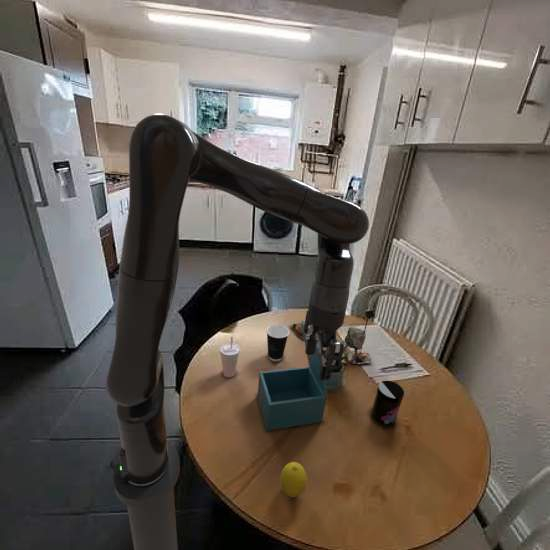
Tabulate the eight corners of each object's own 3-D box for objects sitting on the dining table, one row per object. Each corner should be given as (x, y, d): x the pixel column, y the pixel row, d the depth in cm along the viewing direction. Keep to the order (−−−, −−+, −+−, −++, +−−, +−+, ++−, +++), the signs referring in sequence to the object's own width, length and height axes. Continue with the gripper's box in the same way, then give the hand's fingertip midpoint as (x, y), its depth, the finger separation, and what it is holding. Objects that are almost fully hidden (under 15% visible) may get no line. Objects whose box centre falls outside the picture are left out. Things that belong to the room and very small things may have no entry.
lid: (317, 348, 74) (339, 341, 75) (300, 321, 86) (319, 315, 86) (325, 396, 82) (344, 389, 82) (308, 365, 93) (326, 359, 94)
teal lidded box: (266, 430, 81) (269, 405, 78) (257, 395, 92) (259, 371, 89) (321, 421, 85) (326, 397, 82) (306, 388, 96) (309, 366, 93)
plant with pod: (340, 348, 118) (349, 301, 110) (371, 355, 115) (382, 308, 107) (338, 361, 110) (348, 312, 103) (371, 368, 108) (383, 319, 100)
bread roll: (320, 337, 124) (321, 329, 122) (302, 341, 120) (303, 333, 119) (306, 323, 132) (307, 316, 131) (289, 326, 129) (290, 319, 127)
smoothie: (242, 376, 99) (244, 339, 94) (224, 383, 96) (225, 345, 90) (233, 364, 104) (234, 329, 99) (215, 370, 101) (216, 334, 95)
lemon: (287, 474, 71) (291, 449, 68) (308, 489, 68) (313, 464, 65) (273, 493, 67) (276, 468, 64) (295, 511, 64) (299, 485, 61)
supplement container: (374, 426, 85) (382, 397, 81) (368, 407, 92) (375, 379, 88) (398, 428, 85) (408, 399, 81) (391, 409, 92) (399, 381, 88)
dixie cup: (264, 364, 106) (266, 337, 101) (263, 349, 113) (265, 324, 109) (287, 364, 106) (290, 337, 102) (285, 350, 114) (288, 324, 110)
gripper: (299, 286, 68) (290, 347, 74) (325, 320, 55) (313, 391, 61) (330, 285, 70) (319, 345, 76) (362, 318, 57) (347, 386, 63)
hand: (316, 365), depth 69 cm, fingers open, 8 cm apart
